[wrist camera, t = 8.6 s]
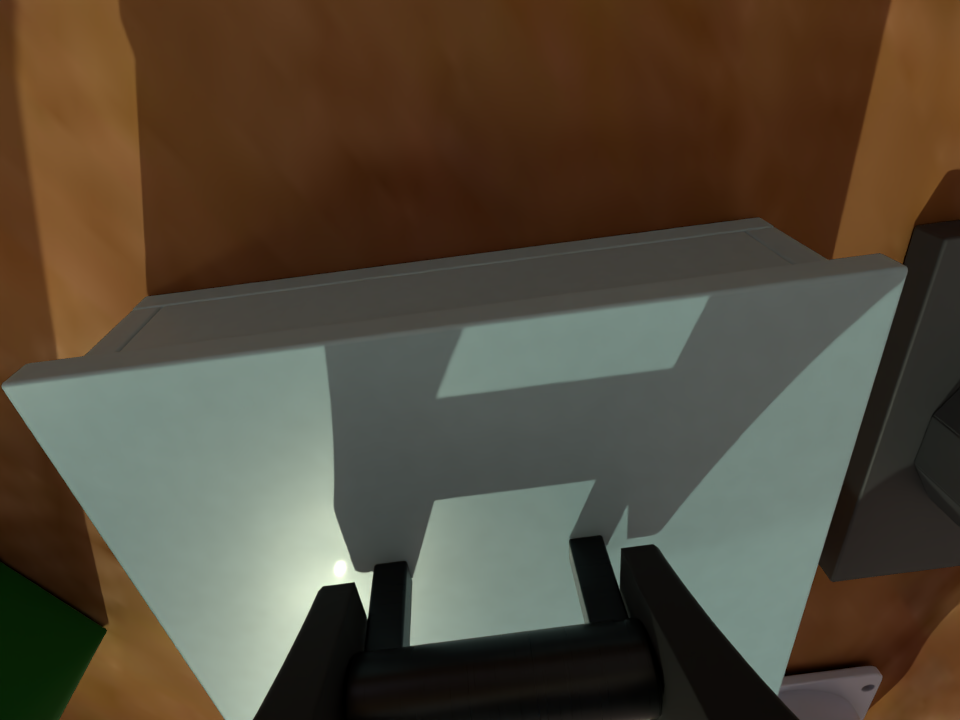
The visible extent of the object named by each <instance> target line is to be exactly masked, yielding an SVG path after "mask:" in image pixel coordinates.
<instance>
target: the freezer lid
mask: <svg viewBox="0 0 960 720" xmlns="http://www.w3.org/2000/svg"><path fill="white" fill-rule="evenodd" d="M907 273H908V268H907V267H906V266H905V265H903V264H901V263H899V262H897V261H895V260H893V259H891V258H889V257H887V256H885V255H883V254H880V253H879V254H870V255H863V256H855V257H847V258H839V259H832V260H824V261H816V262H808V263H801V264H793V265H785V266H778V267H770V268H762V269H754V270H747V271H739V272H731V273H723V274H716V275H708V276H700V277H693V278H685V279H677V280H669V281H662V282H654V283H646V284H638V285H631V286H623V287H615V288H608V289H600V290H592V291H584V292H577V293H569V294H561V295H553V296H546V297H538V298H530V299H523V300H515V301H507V302H499V303H492V304H484V305H476V306H468V307H461V308H453V309H445V310H438V311H430V312H422V313H414V314H407V315H399V316H391V317H383V318H376V319H368V320H360V321H353V322H345V323H337V324H329V325H322V326H314V327H306V328H298V329H291V330H283V331H275V332H268V333H260V334H252V335H244V336H237V337H229V338H221V339H213V340H206V341H198V342H190V343H183V344H175V345H167V346H159V347H152V348H144V349H136V350H128V351H121V352H113V353H105V354H98V355H90V356H82V357H74V358H67V359H59V360H51V361H43V362H36V363H29V364H26V365H24V366H23V367H22V368H20V369H19V370H18V371H17V372H16V373H14V374H13V375H12V376H11V377H9V378H8V379H7V380H6V381H5V382H3V383H2V389H3V390H4V392H5V393H6V395H7V396H8V398H9V399H10V401H11V402H12V404H13V405H14V407H15V408H16V410H17V411H18V413H19V414H20V416H21V417H22V419H23V420H24V422H25V423H26V425H27V426H28V428H29V429H30V431H31V432H32V434H33V435H34V437H35V438H36V440H37V441H38V442H39V444H40V445H41V447H42V448H43V450H44V451H45V453H46V454H47V456H48V457H49V459H50V460H51V462H52V463H53V465H54V466H55V468H56V469H57V471H58V472H59V474H60V475H61V477H62V478H63V480H64V481H65V483H66V484H67V486H68V487H69V489H70V490H71V492H72V493H73V495H74V496H75V498H76V499H77V500H78V502H79V503H80V505H81V506H82V508H83V509H84V511H85V512H86V514H87V515H88V517H89V518H90V520H91V521H92V523H93V524H94V526H95V527H96V529H97V530H98V532H99V533H100V535H101V536H102V538H103V539H104V541H105V542H106V544H107V545H108V547H109V548H110V550H111V551H112V553H113V554H114V556H115V557H116V558H117V560H118V561H119V563H120V564H121V566H122V567H123V569H124V570H125V572H126V573H127V575H128V576H129V578H130V579H131V581H132V582H133V584H134V585H135V587H136V588H137V590H138V591H139V593H140V594H141V596H142V597H143V599H144V600H145V602H146V603H147V605H148V606H149V608H150V609H151V611H152V612H153V614H154V615H155V616H156V618H157V619H158V621H159V622H160V624H161V625H162V627H163V628H164V630H165V631H166V633H167V634H168V636H169V637H170V639H171V640H172V642H173V643H174V645H175V646H176V648H177V649H178V651H179V652H180V654H181V655H182V657H183V658H184V660H185V661H186V663H187V664H188V666H189V667H190V669H191V670H192V672H193V673H194V674H195V676H196V677H197V679H198V680H199V682H200V683H201V685H202V686H203V688H204V689H205V691H206V692H207V694H208V695H209V697H210V698H211V700H212V701H213V703H214V704H215V706H216V707H217V709H218V710H219V712H220V713H221V715H222V716H223V718H224V719H225V720H253V718H254V717H255V715H256V713H257V711H258V710H259V708H260V706H261V704H262V702H263V700H264V698H265V697H266V695H267V693H268V691H269V689H270V687H271V686H272V684H273V682H274V680H275V678H276V676H277V674H278V673H279V671H280V669H281V667H282V665H283V663H284V661H285V659H286V657H287V655H288V653H289V651H290V649H291V647H292V645H293V643H294V641H295V639H296V637H297V635H298V633H299V631H300V629H301V627H302V625H303V623H304V621H305V619H306V617H307V615H308V612H309V610H310V608H311V606H312V604H313V602H314V599H315V597H316V595H317V593H318V591H319V590H320V589H321V588H322V587H323V586H328V585H336V584H344V583H352V582H355V585H356V587H357V590H358V593H359V596H360V599H361V602H362V604H363V607H364V610H365V613H366V616H367V619H368V621H367V630H366V638H365V647H364V652H358V653H356V654H354V655H353V656H352V657H351V659H350V661H349V664H348V668H347V671H346V676H345V683H344V692H343V720H650V719H657V718H658V717H660V716H661V715H662V710H663V694H662V686H661V679H660V674H659V669H658V665H657V661H656V657H655V653H654V650H653V647H652V644H651V641H650V638H649V635H648V633H647V631H646V629H645V627H644V625H643V623H642V622H641V621H640V620H639V619H638V618H635V617H631V618H629V617H628V614H627V611H626V608H625V605H624V602H623V599H622V596H621V592H620V560H621V548H626V547H634V546H642V545H649V544H654V545H655V546H657V547H658V548H659V549H660V551H661V552H662V554H663V555H664V557H665V558H666V560H667V561H668V563H669V564H670V565H671V567H672V568H673V570H674V571H675V572H676V574H677V575H678V577H679V578H680V579H681V581H682V582H683V583H684V585H685V586H686V587H687V589H688V590H689V591H690V593H691V594H692V595H693V597H694V598H695V599H696V600H697V602H698V603H699V604H700V606H701V607H702V608H703V610H704V611H705V612H706V613H707V615H708V616H709V617H710V618H711V620H712V621H713V622H714V623H715V625H716V626H717V627H718V628H719V629H720V631H721V632H722V633H723V634H724V635H725V637H726V638H727V639H728V640H729V641H730V643H731V644H732V645H733V646H734V647H735V648H736V650H737V651H738V652H739V653H740V654H741V656H742V657H743V658H744V659H745V660H746V662H747V663H748V664H749V665H750V666H751V667H752V668H753V669H754V671H755V672H756V673H757V674H758V675H759V676H760V677H761V679H762V680H763V681H764V682H765V683H766V684H767V685H768V686H769V687H770V688H771V690H772V691H773V692H774V693H775V694H776V695H777V696H778V694H779V690H780V687H781V684H782V681H783V677H784V674H785V671H786V667H787V664H788V661H789V658H790V654H791V651H792V648H793V645H794V641H795V638H796V635H797V632H798V628H799V625H800V622H801V619H802V615H803V612H804V609H805V605H806V602H807V599H808V596H809V592H810V589H811V586H812V583H813V579H814V576H815V573H816V570H817V566H818V563H819V560H820V557H821V553H822V550H823V547H824V543H825V540H826V537H827V534H828V530H829V527H830V524H831V521H832V517H833V514H834V511H835V508H836V504H837V501H838V498H839V494H840V491H841V488H842V485H843V481H844V478H845V475H846V472H847V468H848V465H849V462H850V459H851V455H852V452H853V449H854V446H855V442H856V439H857V436H858V432H859V429H860V426H861V423H862V419H863V416H864V413H865V410H866V406H867V403H868V400H869V397H870V393H871V390H872V387H873V384H874V380H875V377H876V374H877V370H878V367H879V364H880V361H881V357H882V354H883V351H884V348H885V344H886V341H887V338H888V335H889V331H890V328H891V325H892V321H893V318H894V315H895V312H896V308H897V305H898V302H899V299H900V295H901V292H902V289H903V286H904V282H905V279H906V276H907Z"/></svg>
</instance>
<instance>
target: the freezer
mask: <svg viewBox="0 0 960 720" xmlns="http://www.w3.org/2000/svg"><path fill="white" fill-rule="evenodd" d="M824 260H828V259H826V258H824V257H823V256H821V255H819V254H818V253H816V252H815V251H813V250H811V249H810V248H808V247H806V246H805V245H803V244H801V243H800V242H798V241H796V240H795V239H793V238H791V237H790V236H788V235H787V234H785V233H783V232H782V231H780V230H778V229H777V228H774V226H773V225H771V224H770V223H768V222H766V221H765V220H763V219H761V218H759V217H757V218H749V219H742V220H734V221H726V222H718V223H711V224H703V225H695V226H688V227H680V228H672V229H664V230H657V231H649V232H641V233H634V234H626V235H618V236H610V237H603V238H595V239H587V240H580V241H572V242H564V243H556V244H549V245H541V246H533V247H526V248H518V249H510V250H502V251H495V252H487V253H479V254H472V255H464V256H456V257H448V258H441V259H433V260H425V261H417V262H410V263H402V264H394V265H387V266H379V267H371V268H363V269H356V270H348V271H340V272H333V273H325V274H317V275H309V276H302V277H294V278H286V279H279V280H271V281H263V282H255V283H248V284H240V285H232V286H225V287H217V288H209V289H201V290H194V291H186V292H178V293H171V294H163V295H155V296H147V297H145V298H144V299H143V300H142V301H141V302H140V303H139V304H138V305H137V306H136V307H135V308H133V311H131V312H130V313H129V314H128V315H127V316H126V317H125V318H124V319H123V320H122V321H121V322H120V323H118V324H117V325H116V326H115V327H114V328H113V329H112V330H111V331H110V332H109V333H108V334H107V335H106V336H105V337H104V338H103V339H102V340H100V341H99V342H98V343H97V344H96V345H95V346H94V347H93V348H92V349H91V350H90V351H89V352H88V353H87V354H86V355H85V356H90V355H98V354H105V353H113V352H121V351H128V350H136V349H144V348H152V347H159V346H167V345H175V344H183V343H190V342H198V341H206V340H213V339H221V338H229V337H237V336H244V335H252V334H260V333H268V332H275V331H283V330H291V329H298V328H306V327H314V326H322V325H329V324H337V323H345V322H353V321H360V320H368V319H376V318H383V317H391V316H399V315H407V314H414V313H422V312H430V311H438V310H445V309H453V308H461V307H468V306H476V305H484V304H492V303H499V302H507V301H515V300H523V299H530V298H538V297H546V296H553V295H561V294H569V293H577V292H584V291H592V290H600V289H608V288H615V287H623V286H631V285H638V284H646V283H654V282H662V281H669V280H677V279H685V278H693V277H700V276H708V275H716V274H723V273H731V272H739V271H747V270H754V269H762V268H770V267H778V266H785V265H793V264H801V263H808V262H816V261H824Z"/></svg>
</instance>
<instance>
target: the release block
mask: <svg viewBox="0 0 960 720" xmlns="http://www.w3.org/2000/svg"><path fill="white" fill-rule="evenodd" d="M904 265H905V266H906V267H907V268H908V273H907V276H906V279H905V282H904V286H903V289H902V292H901V295H900V299H899V302H898V305H897V308H896V312H895V315H894V318H893V321H892V325H891V328H890V331H889V335H888V338H887V341H886V344H885V348H884V351H883V354H882V357H881V361H880V364H879V367H878V370H877V374H876V377H875V380H874V384H873V387H872V390H871V393H870V397H869V400H868V403H867V406H866V410H865V413H864V416H863V419H862V423H861V426H860V429H859V432H858V436H857V439H856V442H855V446H854V449H853V452H852V455H851V459H850V462H849V465H848V468H847V472H846V475H845V478H844V481H843V485H842V488H841V491H840V494H839V498H838V501H837V504H836V508H835V511H834V514H833V517H832V521H831V524H830V527H829V530H828V534H827V537H826V540H825V543H824V547H823V550H822V553H821V557H820V560H819V565H820V566H821V568H822V569H823V571H824V572H825V573H826V575H827V576H828V578H829V579H830V580H831V581H832V582H836V581H843V580H851V579H859V578H867V577H875V576H882V575H890V574H898V573H906V572H914V571H921V570H929V569H937V568H945V567H953V566H960V220H956V221H948V222H940V223H933V224H925V225H918V226H916V227H915V228H914V232H913V235H912V238H911V242H910V245H909V248H908V252H907V255H906V258H905V262H904Z"/></svg>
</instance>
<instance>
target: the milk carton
mask: <svg viewBox="0 0 960 720" xmlns="http://www.w3.org/2000/svg"><path fill="white" fill-rule="evenodd" d="M106 632H107V630H106V629H105V628H103V627H102V626H100V625H98V624H97V623H95V622H94V621H92V620H91V619H89V618H87V617H86V616H84V615H83V614H81V613H80V612H78V611H77V610H75V609H73V608H72V607H70V606H69V605H67V604H66V603H64V602H62V601H61V600H59V599H58V598H56V597H55V596H53V595H51V594H50V593H48V592H47V591H45V590H44V589H42V588H41V587H39V586H37V585H36V584H34V583H33V582H31V581H30V580H28V579H26V578H25V577H23V576H22V575H20V574H19V573H17V572H15V571H14V570H12V569H11V568H9V567H8V566H6V565H5V564H3V563H1V562H0V720H59V719H60V717H61V715H62V713H63V711H64V709H65V708H66V706H67V704H68V702H69V700H70V698H71V696H72V694H73V693H74V691H75V689H76V687H77V685H78V683H79V681H80V680H81V678H82V676H83V674H84V672H85V670H86V668H87V667H88V665H89V663H90V661H91V659H92V657H93V655H94V654H95V652H96V650H97V648H98V646H99V644H100V643H101V641H102V639H103V637H104V635H105V634H106Z"/></svg>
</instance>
